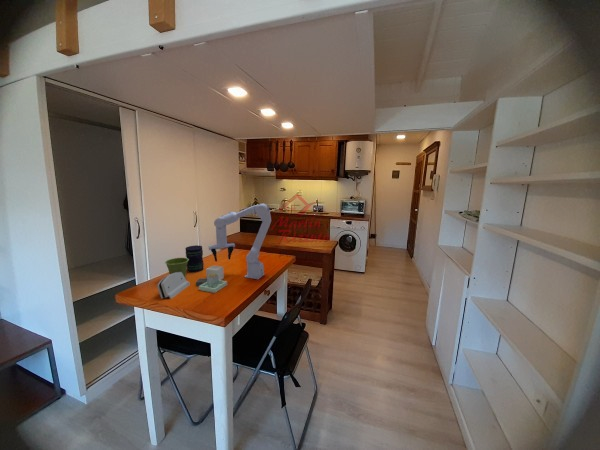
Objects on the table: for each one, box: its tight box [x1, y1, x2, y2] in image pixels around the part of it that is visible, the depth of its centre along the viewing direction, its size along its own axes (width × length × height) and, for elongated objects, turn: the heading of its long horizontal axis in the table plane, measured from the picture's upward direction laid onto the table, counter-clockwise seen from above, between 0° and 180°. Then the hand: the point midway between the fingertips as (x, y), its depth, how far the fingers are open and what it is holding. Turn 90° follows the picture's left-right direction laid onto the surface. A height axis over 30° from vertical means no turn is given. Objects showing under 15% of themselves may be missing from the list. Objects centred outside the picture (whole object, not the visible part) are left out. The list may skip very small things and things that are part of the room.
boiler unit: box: [205, 265, 225, 281], centre depth 128 cm, size 8×6×7 cm
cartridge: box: [206, 274, 219, 288], centre depth 118 cm, size 4×4×6 cm
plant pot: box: [164, 257, 189, 278], centre depth 127 cm, size 12×12×11 cm
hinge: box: [156, 272, 191, 300], centre depth 114 cm, size 17×5×10 cm, turn 175°
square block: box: [195, 277, 207, 287], centre depth 122 cm, size 5×5×2 cm
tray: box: [198, 279, 228, 294], centre depth 118 cm, size 10×10×2 cm
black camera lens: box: [184, 245, 205, 274], centre depth 142 cm, size 10×10×15 cm
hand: (222, 260), depth 132 cm, fingers open, 7 cm apart
